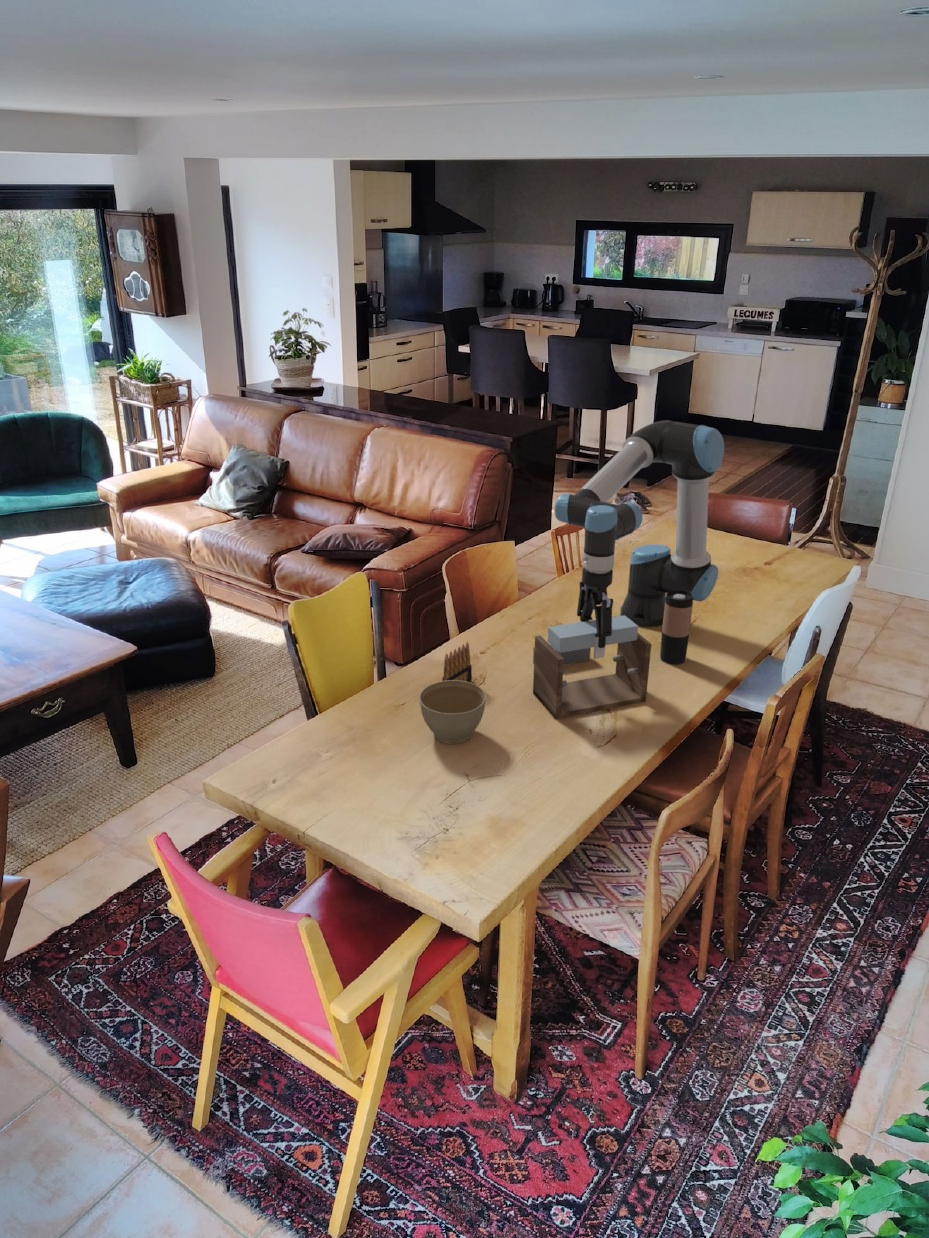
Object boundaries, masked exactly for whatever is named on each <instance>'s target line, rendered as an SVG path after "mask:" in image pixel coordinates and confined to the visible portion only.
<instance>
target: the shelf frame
mask: <svg viewBox="0 0 929 1238" xmlns="http://www.w3.org/2000/svg"><path fill="white" fill-rule="evenodd" d="M534 647H535V652H534V664H533V681H532V683H533V684H532V694H533V695H534V696H535V698H536V699H537V700H538V701H539V703H541V705H542V706H543V707H544V708H545V710H546V711H548V712H549V714H550V715H551V716H552V717H553V718H554V720H558V719H563V718H568V717H574V716H577V715H578V716H579V715H583V714H589V713H595V712H599V711H605V710H609V709H615V708H620V707H624V706H630V705H635V704H640V703H641V704H642V703H646V702H647V695H648V692H647V691H648V682H649V672H650V662H651V652H652V643H651V642H650V641H649V640H647V638H645V637H644V636H643V635H641V634H640V633H639V632H638V634H637V640H634V641H628V642H622V643H617V649H616V651H617V652H616V655H613V656H612V660H613V662H614V663H615V662H616V663H615V673H614V674H613V673H612V674H607V675H601V676H596V677H595V676H594V677H590V678H585V679H584V678H583V679H579V680H575V681H568V682H567V680H564V666H565V665H564V658H563V657H562V656H561V655H560V654H559V653H558V652H557V651H556V650H555V649H554V648H553V647H552V646H551V644H550V643H549V642H548V641H547V640H546V639H545V638H544V637H543V636H542V635H535V636H534Z"/></svg>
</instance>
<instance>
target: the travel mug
mask: <svg viewBox="0 0 929 1238" xmlns="http://www.w3.org/2000/svg"><path fill="white" fill-rule="evenodd" d="M693 598H694V597H692V594H691V593H690V592H687V591H684V590H671V591H668V592H667V593H666V600H665V609H664V618H663V625H661V626H662V627H661V628H662V629H661V641H660V652H659V653H660V656H659V657H660V660H661V661H662V662H664V663H666V664H669V665H681V664H684V663H685V662H686V658H687V653H688V647H689V639H690V632H691V623H692V614H693V613H692V612H693V605H694V600H693Z"/></svg>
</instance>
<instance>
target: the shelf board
mask: <svg viewBox="0 0 929 1238" xmlns="http://www.w3.org/2000/svg"><path fill="white" fill-rule="evenodd" d="M638 631H639V626H638V625H636V624H635V623H634V622H632V621H631V620H630V619H629V618H627V617H626V616H625V615H624V616H620V615H618V616H612V635H611V636H607V637H606V642H605V643H606V644H605V646H609V645H614V644H618V643H622V642H628V641H634V640H637V634H638V633H639V632H638ZM595 634H597V628H596V619H593V620H588V621H585V622H581V621H579V622H573V623H567V624H560V625H553V626H548V629H547V643H549V644H550V645H552V646H553V647H554V648H555V649H556V650H557V651H558V652H559V653H562V652H568V651H574V650H580V649H586V648H591V649H592V648H594V644H595Z"/></svg>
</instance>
